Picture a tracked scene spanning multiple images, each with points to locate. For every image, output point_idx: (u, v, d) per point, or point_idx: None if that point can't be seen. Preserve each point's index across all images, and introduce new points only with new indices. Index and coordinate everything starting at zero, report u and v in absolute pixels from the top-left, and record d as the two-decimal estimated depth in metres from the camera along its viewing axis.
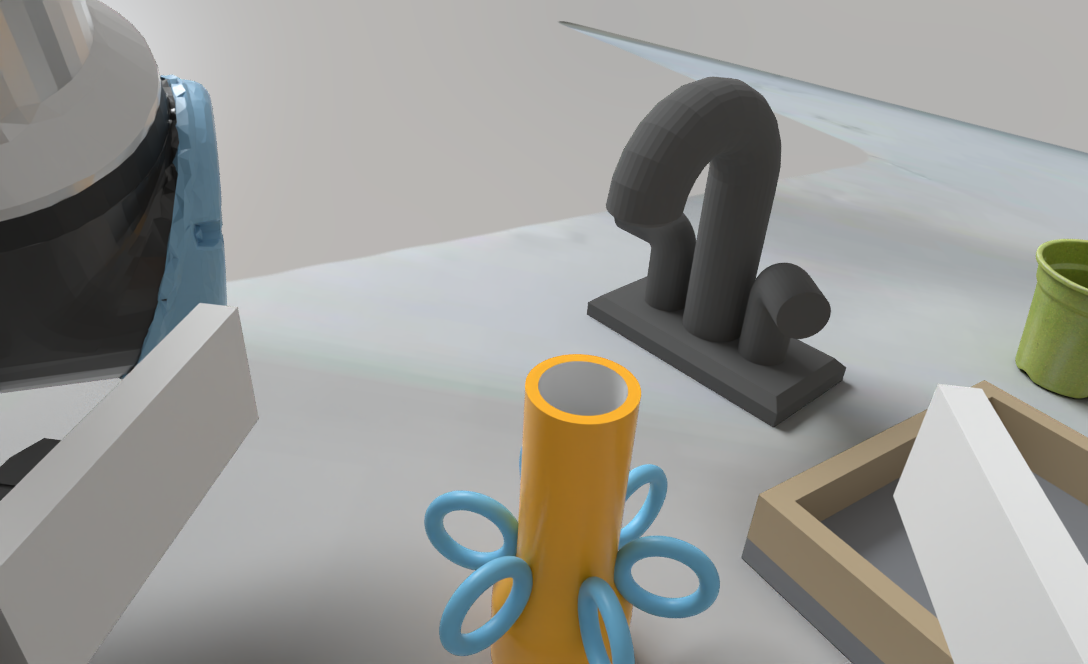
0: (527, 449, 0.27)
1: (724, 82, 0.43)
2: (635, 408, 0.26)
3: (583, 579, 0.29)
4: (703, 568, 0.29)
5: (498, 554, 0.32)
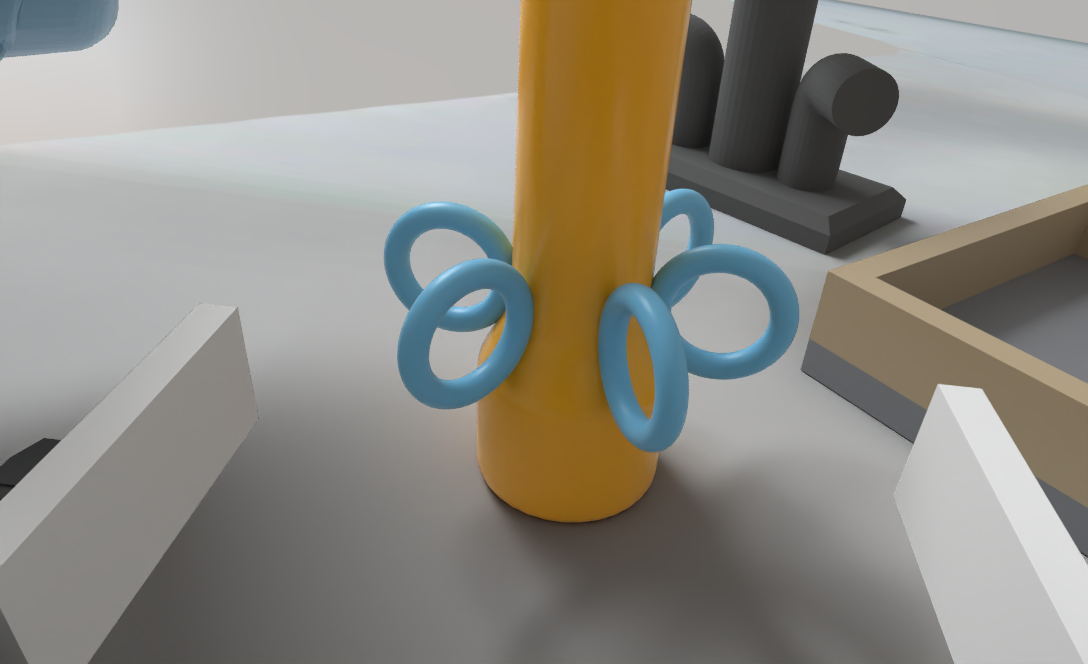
0: (525, 76, 0.18)
1: None
2: None
3: (606, 299, 0.20)
4: (778, 284, 0.20)
5: (486, 300, 0.23)
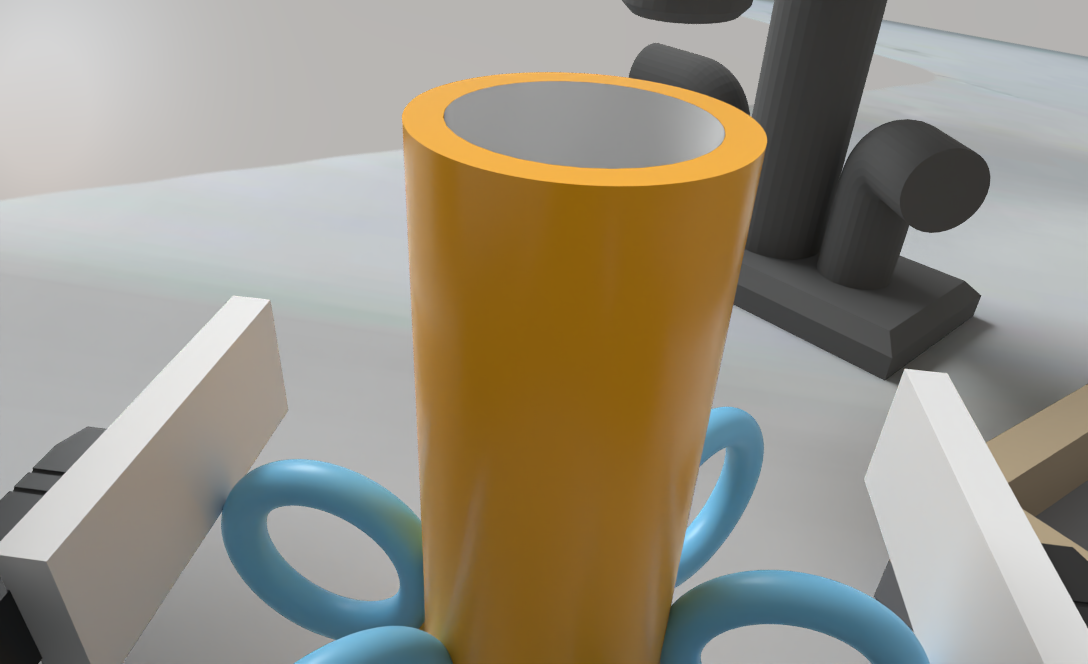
0: (417, 319, 0.09)
1: None
2: (757, 161, 0.08)
3: None
4: (901, 658, 0.11)
5: (391, 609, 0.14)
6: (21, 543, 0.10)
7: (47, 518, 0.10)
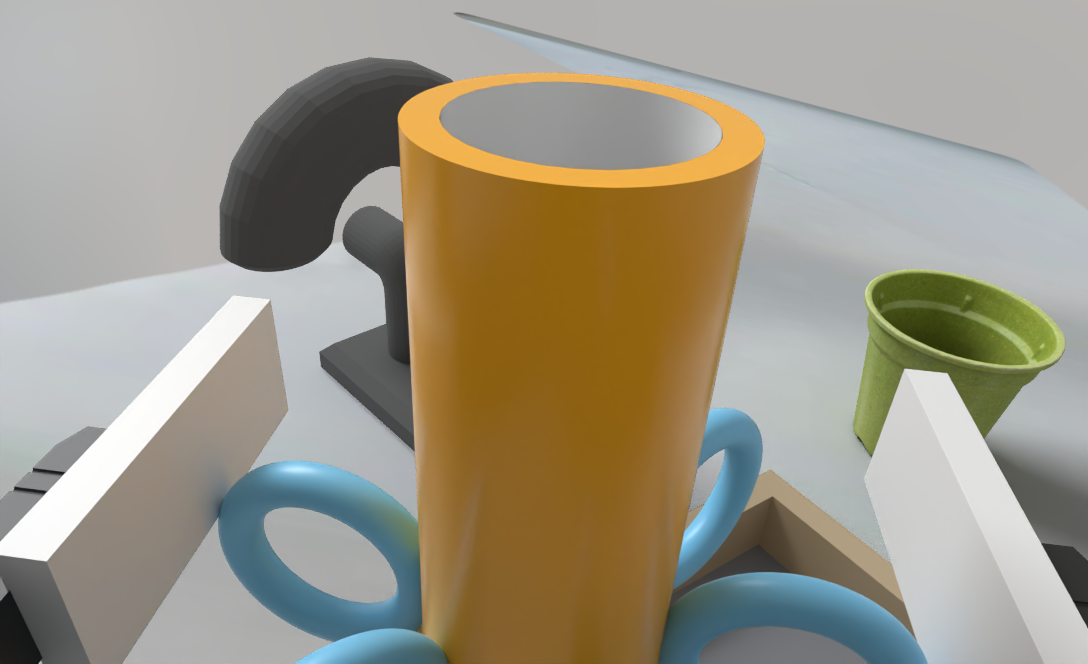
0: (413, 320, 0.09)
1: (376, 65, 0.31)
2: (754, 162, 0.08)
3: None
4: (900, 660, 0.11)
5: (388, 611, 0.14)
6: (21, 543, 0.10)
7: (47, 518, 0.10)
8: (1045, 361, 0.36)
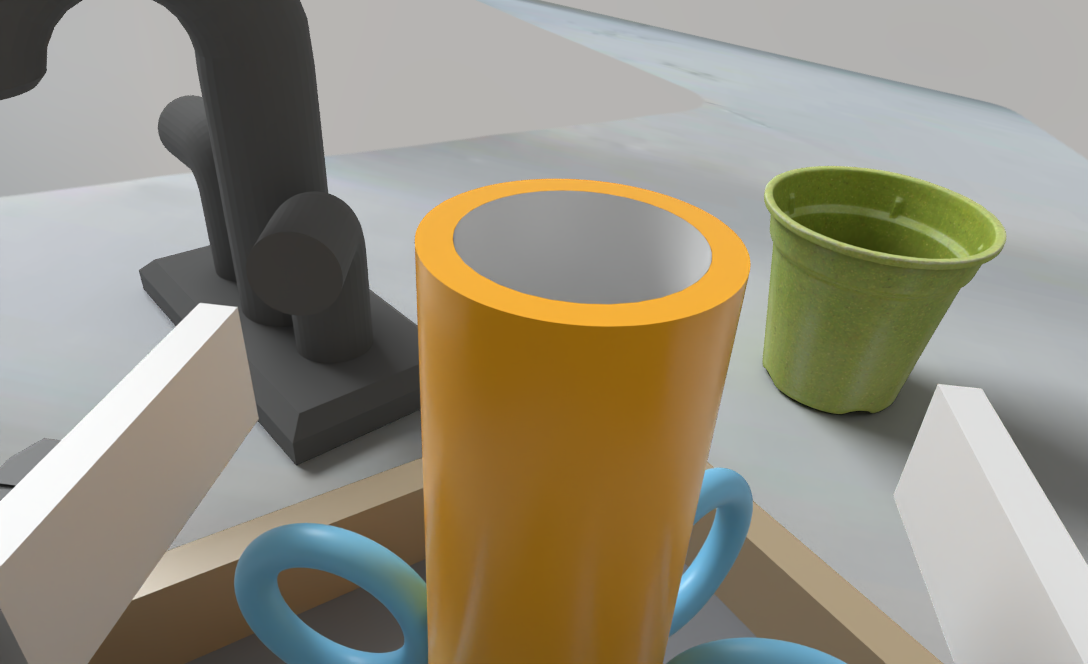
0: (426, 418, 0.10)
1: None
2: (740, 290, 0.09)
3: None
4: None
5: (395, 663, 0.15)
6: None
7: None
8: (976, 255, 0.28)
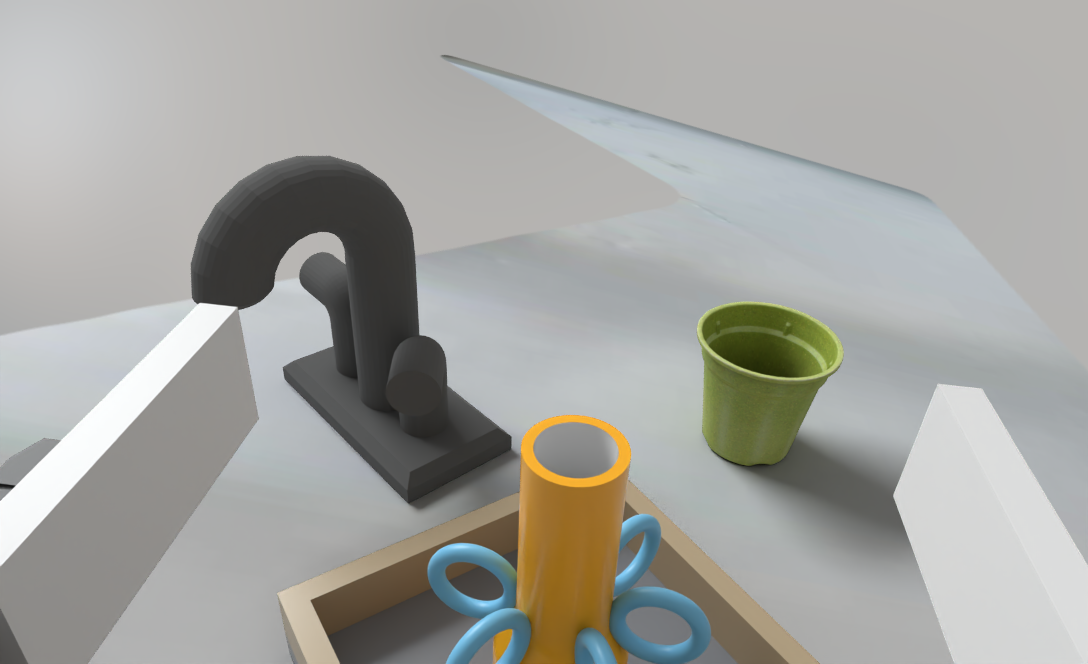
0: (523, 508, 0.29)
1: (302, 163, 0.43)
2: (625, 470, 0.27)
3: (579, 630, 0.30)
4: (694, 618, 0.30)
5: (499, 603, 0.33)
6: None
7: None
8: (819, 374, 0.47)
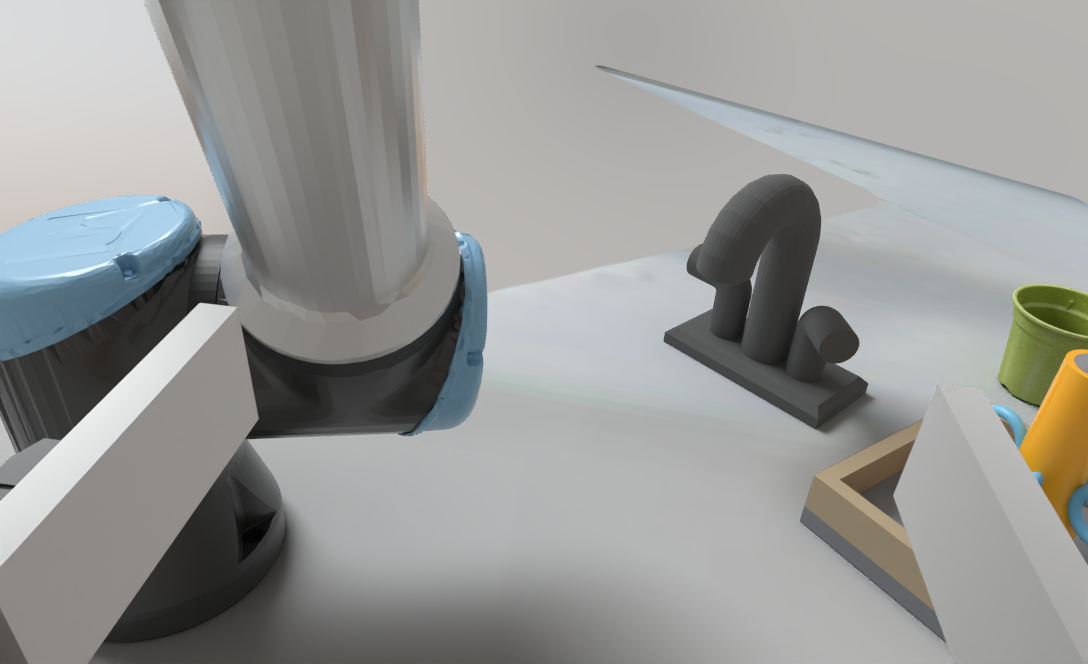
0: (1066, 405, 0.46)
1: (782, 180, 0.60)
2: None
3: (1077, 486, 0.48)
4: None
5: None
6: None
7: None
8: None
